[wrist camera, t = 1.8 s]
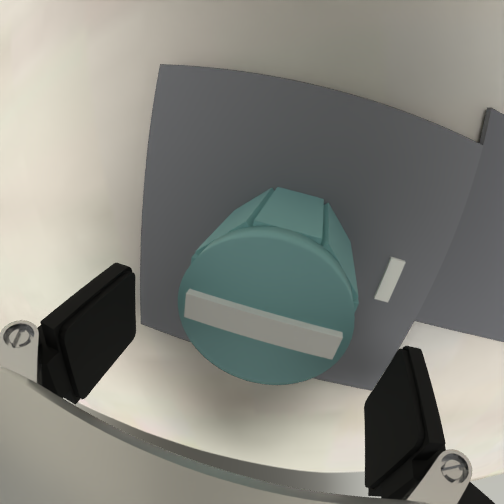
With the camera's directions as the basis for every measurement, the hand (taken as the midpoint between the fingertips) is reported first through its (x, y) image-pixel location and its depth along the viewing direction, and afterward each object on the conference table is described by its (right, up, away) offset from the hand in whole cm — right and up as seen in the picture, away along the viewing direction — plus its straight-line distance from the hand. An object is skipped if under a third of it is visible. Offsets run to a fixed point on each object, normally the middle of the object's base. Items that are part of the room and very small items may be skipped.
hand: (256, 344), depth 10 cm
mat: (+16, +3, +2) cm, 16 cm away
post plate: (+2, +3, +6) cm, 7 cm away
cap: (+2, +3, +5) cm, 6 cm away
